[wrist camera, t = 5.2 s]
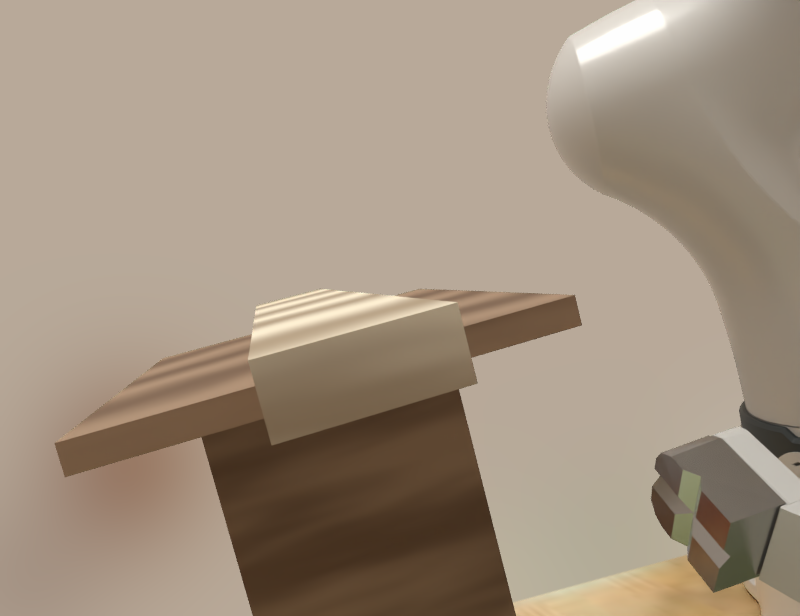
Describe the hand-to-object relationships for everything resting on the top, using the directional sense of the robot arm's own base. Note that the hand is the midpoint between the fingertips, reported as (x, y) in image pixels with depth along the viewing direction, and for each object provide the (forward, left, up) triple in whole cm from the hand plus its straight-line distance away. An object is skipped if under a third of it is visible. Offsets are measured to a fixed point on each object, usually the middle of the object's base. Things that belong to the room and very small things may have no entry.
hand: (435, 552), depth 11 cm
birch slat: (-6, -16, +2) cm, 17 cm away
